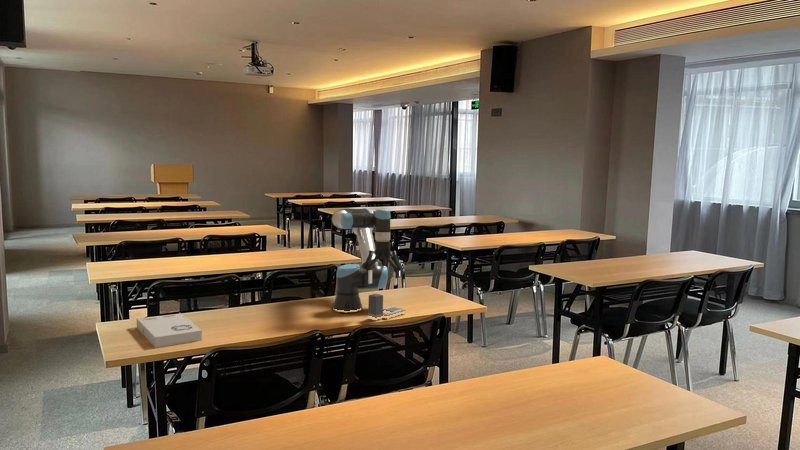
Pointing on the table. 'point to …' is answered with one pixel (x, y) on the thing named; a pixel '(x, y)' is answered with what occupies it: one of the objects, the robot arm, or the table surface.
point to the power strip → (392, 310)
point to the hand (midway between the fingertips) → (382, 284)
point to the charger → (375, 305)
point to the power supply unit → (169, 330)
